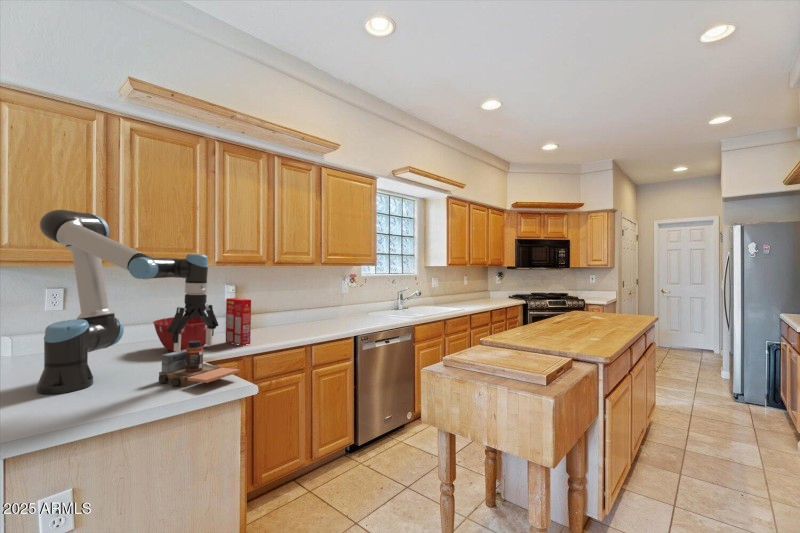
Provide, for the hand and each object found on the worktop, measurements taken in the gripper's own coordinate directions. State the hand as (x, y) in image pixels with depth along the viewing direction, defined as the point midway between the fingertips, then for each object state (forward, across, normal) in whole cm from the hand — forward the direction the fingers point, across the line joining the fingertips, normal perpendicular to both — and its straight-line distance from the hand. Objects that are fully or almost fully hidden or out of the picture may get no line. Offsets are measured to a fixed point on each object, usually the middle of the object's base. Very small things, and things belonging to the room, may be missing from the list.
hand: (193, 348), depth 147 cm
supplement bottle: (+9, 0, -1) cm, 9 cm away
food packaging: (+13, +54, +34) cm, 65 cm away
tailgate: (+9, 0, -7) cm, 11 cm away
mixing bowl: (+13, +31, +46) cm, 57 cm away
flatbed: (+12, 0, +1) cm, 12 cm away
